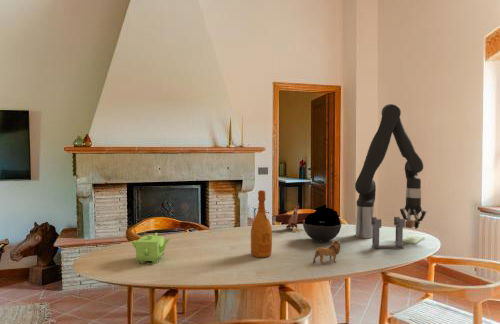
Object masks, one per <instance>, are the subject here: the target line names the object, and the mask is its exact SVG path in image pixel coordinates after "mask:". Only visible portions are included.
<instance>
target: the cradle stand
mask: <svg viewBox="0 0 500 324" xmlns="http://www.w3.org/2000/svg"><path fill="white" fill-rule="evenodd" d="M393 217H394V218H393V226H395V244H380V229H381V228H382V219H381V218H378V217H377V216H374V217H371V225H372V226H373V237H372V238H371V239H372V241H371V242H372V245H371V249H373V250H387V249H388V250H389V249H390V250H392V249H395V250H396V249H398V250H399V249H404V246H403V242H402V239H403V238H404V237H403V235H404V234H403V230H404V229H403V228H406V227H405V222H406V220H405V219H403V218H401V217H400V216H393Z"/></svg>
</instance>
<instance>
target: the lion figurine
mask: <svg viewBox="0 0 500 324" xmlns="http://www.w3.org/2000/svg"><path fill="white" fill-rule="evenodd" d="M341 245H342V244H341V242H340V240H335V239H334V240H333V241H332V242H331V244H330V246H329V247H320V246H319V247H318V248H316V250H315V252H314V256H313V259H312V260H313V261H312V264H315V263H317V261H316V259H317V258H319V261H320V263H321V264H322V265H325V262H324V261H323V260H324V256H325V257H328V258H329V260H328V261H329V262H332V261H333V262H334V263H337V261H336V260H337V255H339V254H340V251H341V247H342V246H341ZM332 257H333V258H332Z"/></svg>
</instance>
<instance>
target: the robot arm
mask: <svg viewBox="0 0 500 324" xmlns="http://www.w3.org/2000/svg"><path fill="white" fill-rule="evenodd" d="M380 114H381V118H380V123H379V126H378V128H377V131H376V133H375V134H374V136H373V137H372V140H371V142H370V145H369V147H368V150H367V153H366V157H365V159H364V162H363V164H362V167H361V171H360V173H359V175H358V177H357V179H356V181H355V182H354V183H355V184H354V189H355V191H356V192H357V194H358V198H357V200H356V217H355V237H356V238H363V239H372V237H373V226H372V225H371V217H375V214H374V213H375V209H374V207H375V200H376V188H377V186H376V182H375V180H374V176H375V174H376V172H377V170H378V168H379V167H380V165H381V164H382V163H383V160H384V159H385V157H386V154H387V152H388V149H389V145H390V142H391V139H392V135H393V137H394V140H395V143H396V146H397V147H398V150H399V152H400V154H401V156H402V157H403V158H404V159H405V160H406V162H405V164H404V173H405V178H406V189H405V206H404V207H402V208H400V209H399V211H400V214H401V217H402V219H405V221H408V220H410V219H412V216H414V217H413V218H415V221H416V222H415V227H414V229H416V230H417V229H418V228H419V226H420V224H419V221H420V222H422V221H423V220H424V219H425V216H426V215H427V211H426V210H424V209H423V208H422V189H421V188H422V187H421V186H422V183H421V182H422V180H421V178H420V177H419V173H422V171H423V170H424V163H423V160H422V158H421V157H420V155H419V154H418V153H417V152H416V150H415V147H414V146H413V142H412V141H411V138H410V137H409V135H408V133H407V132H406V129H405V128H404V125H403V123H402V120H401V114H402V112H401V108H400V106H399V105H396V104H394V103H388V104H386V105H384V106H383V107H382V109H381V112H380ZM406 213H407V214H406ZM420 213H421V215H420ZM419 215H420V217H419ZM419 218H420V219H419Z"/></svg>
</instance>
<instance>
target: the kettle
mask: <svg viewBox="0 0 500 324" xmlns="http://www.w3.org/2000/svg"><path fill="white" fill-rule="evenodd" d="M172 239H173V238H172V237H171V238H170V237H169V238H166V239H165V236H164V235H158V232H155V233H154V234H147V235H143V236H142V237H140V238H139V239H138V240H137V241H136V240H132V241H130V243H131V245H132V246H133V247H134V249H135V261H136V262H139V264H144V263H146V262H151V263H152V264H157V263H158V261H159V260H161V259H162V257H163V256H164V254H165V250H166V248H167V244H168V242H169V241H170V240H172Z"/></svg>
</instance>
